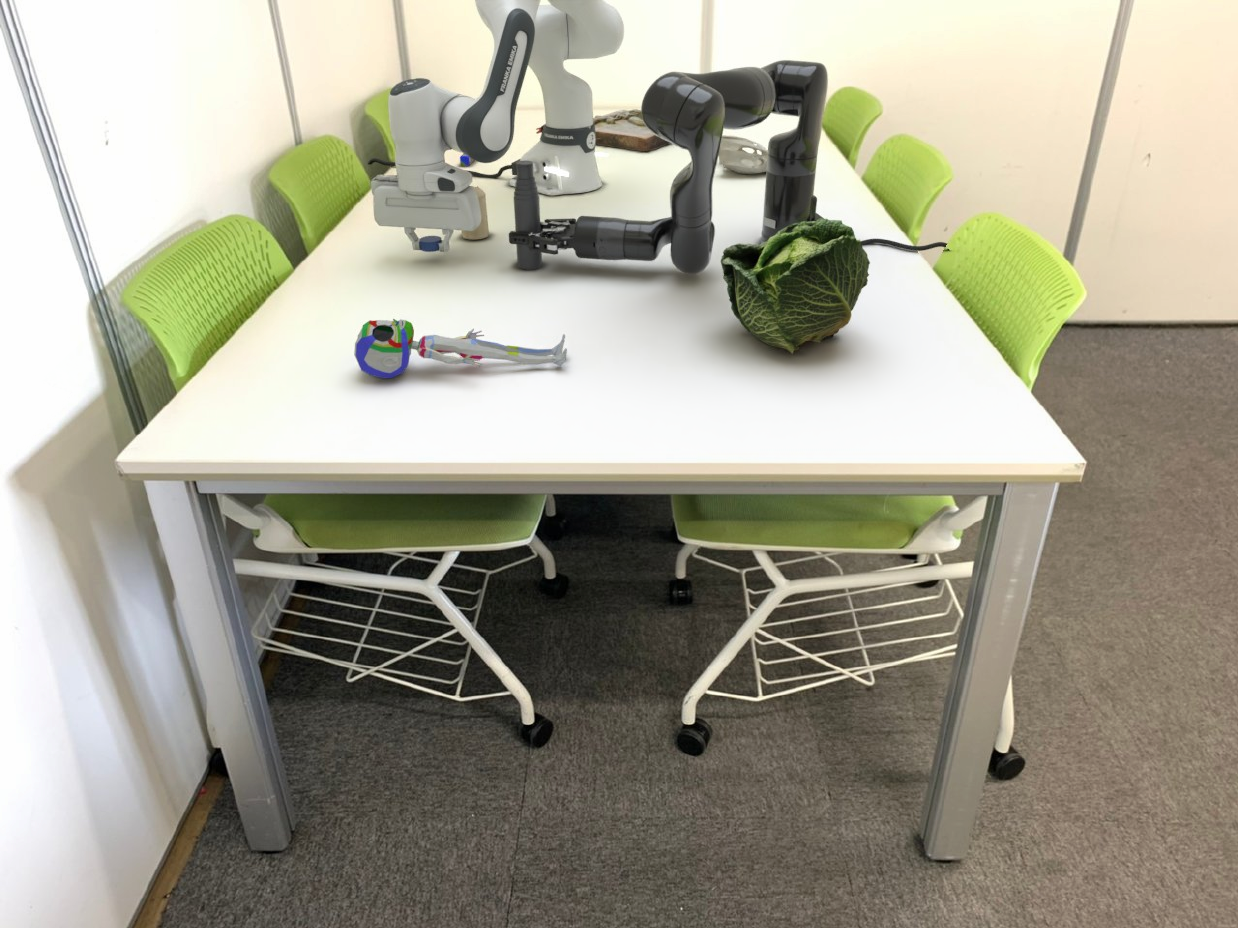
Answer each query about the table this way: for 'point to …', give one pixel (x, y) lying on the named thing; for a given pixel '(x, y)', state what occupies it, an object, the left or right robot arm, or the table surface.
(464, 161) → the pillar
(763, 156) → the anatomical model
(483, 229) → the candle
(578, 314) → the table surface
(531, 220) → the bottle
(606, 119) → the plaque
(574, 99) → the left robot arm
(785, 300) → the vegetable
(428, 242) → the cap
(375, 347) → the toy
